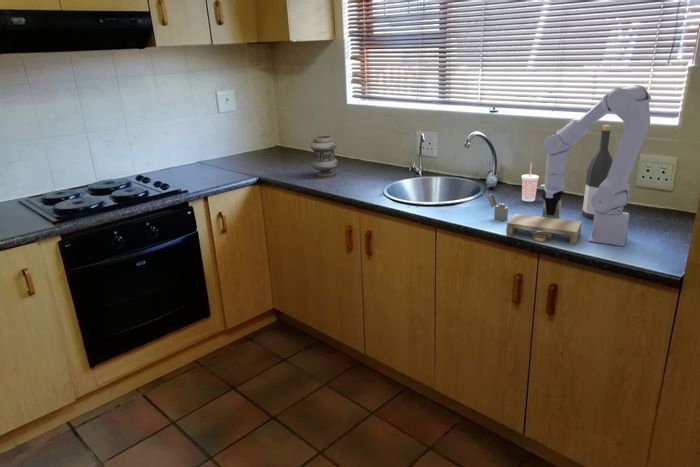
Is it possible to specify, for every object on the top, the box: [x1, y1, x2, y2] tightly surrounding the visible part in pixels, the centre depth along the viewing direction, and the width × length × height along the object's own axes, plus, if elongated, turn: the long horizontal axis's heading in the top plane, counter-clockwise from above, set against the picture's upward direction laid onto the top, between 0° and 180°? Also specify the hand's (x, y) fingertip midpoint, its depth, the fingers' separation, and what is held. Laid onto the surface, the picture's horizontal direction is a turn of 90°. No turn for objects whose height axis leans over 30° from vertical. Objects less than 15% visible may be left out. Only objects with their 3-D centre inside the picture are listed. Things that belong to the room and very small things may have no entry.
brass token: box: [532, 234, 548, 243], centre depth 159 cm, size 4×4×1 cm
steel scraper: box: [531, 198, 562, 240], centre depth 166 cm, size 6×15×8 cm, turn 150°
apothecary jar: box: [310, 134, 339, 179], centre depth 241 cm, size 12×12×18 cm
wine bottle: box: [581, 124, 613, 220], centre depth 172 cm, size 8×8×30 cm
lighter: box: [486, 193, 509, 221], centre depth 178 cm, size 7×2×8 cm, turn 47°
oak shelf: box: [505, 213, 582, 246], centre depth 162 cm, size 20×10×4 cm, turn 60°
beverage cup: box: [521, 162, 540, 203], centre depth 195 cm, size 6×6×14 cm
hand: (551, 213), depth 171 cm, fingers closed on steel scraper
